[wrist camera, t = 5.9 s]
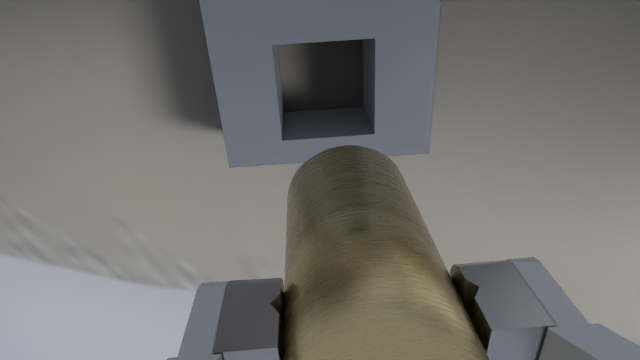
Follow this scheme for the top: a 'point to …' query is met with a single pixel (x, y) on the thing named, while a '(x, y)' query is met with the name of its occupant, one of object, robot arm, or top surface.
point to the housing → (327, 124)
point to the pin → (366, 268)
